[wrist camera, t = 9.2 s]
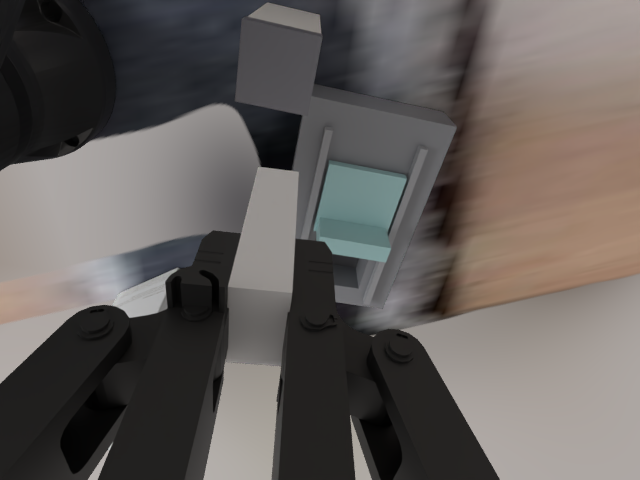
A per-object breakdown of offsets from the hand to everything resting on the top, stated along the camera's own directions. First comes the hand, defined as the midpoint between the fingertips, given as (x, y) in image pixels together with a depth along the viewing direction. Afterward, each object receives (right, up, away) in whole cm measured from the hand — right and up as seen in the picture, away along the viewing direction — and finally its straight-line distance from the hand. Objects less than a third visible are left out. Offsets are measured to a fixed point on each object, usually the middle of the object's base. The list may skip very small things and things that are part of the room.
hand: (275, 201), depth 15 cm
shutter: (+5, +2, +19) cm, 20 cm away
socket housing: (+5, +2, +24) cm, 25 cm away
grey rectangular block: (-1, +14, +16) cm, 21 cm away
